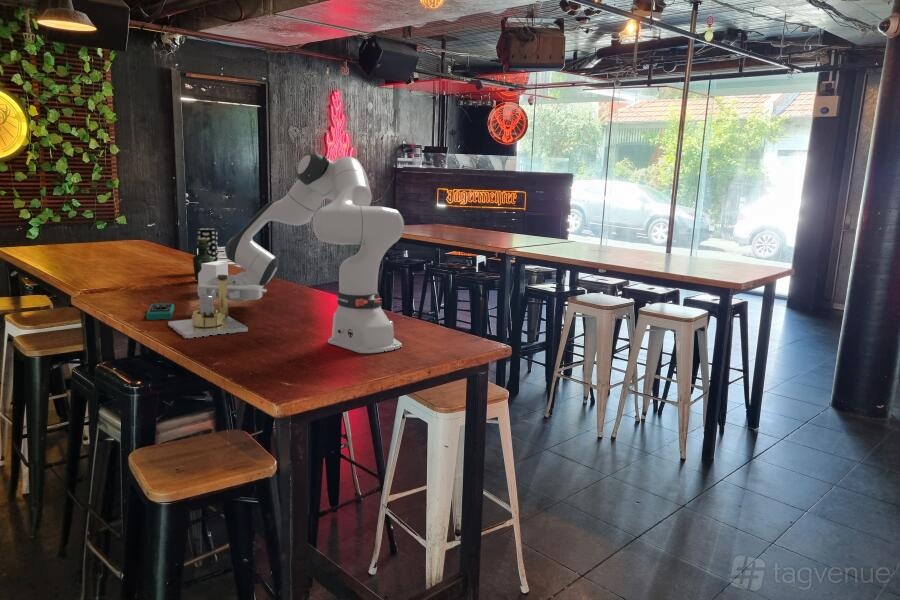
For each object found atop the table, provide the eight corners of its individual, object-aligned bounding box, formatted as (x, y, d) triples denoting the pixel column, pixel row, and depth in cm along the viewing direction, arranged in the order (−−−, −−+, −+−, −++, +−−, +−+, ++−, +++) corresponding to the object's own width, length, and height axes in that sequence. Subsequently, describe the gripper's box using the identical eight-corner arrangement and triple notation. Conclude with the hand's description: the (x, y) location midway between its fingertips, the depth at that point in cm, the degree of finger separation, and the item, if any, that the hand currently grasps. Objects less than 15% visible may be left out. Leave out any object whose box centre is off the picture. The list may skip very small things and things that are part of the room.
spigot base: (247, 331, 193) (247, 298, 191) (185, 338, 183) (184, 304, 181) (225, 318, 209) (224, 287, 207) (167, 324, 198) (165, 292, 196)
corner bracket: (216, 297, 241) (215, 265, 238) (192, 293, 244) (191, 262, 242) (235, 292, 250) (234, 261, 248) (211, 289, 254) (210, 259, 252)
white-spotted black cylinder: (206, 275, 284) (205, 230, 280) (194, 273, 288) (193, 228, 284) (222, 273, 291) (221, 229, 287) (210, 271, 295) (209, 227, 291)
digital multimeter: (174, 310, 218) (174, 302, 217) (171, 320, 204) (171, 311, 204) (150, 311, 215) (150, 302, 215) (146, 321, 202) (145, 312, 201)
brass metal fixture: (211, 327, 190) (210, 282, 187) (186, 325, 192) (184, 280, 189) (238, 317, 203) (237, 275, 200) (214, 315, 205) (213, 273, 202)
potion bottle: (189, 281, 269) (187, 238, 265) (206, 279, 275) (204, 237, 272) (201, 283, 264) (199, 240, 261) (218, 281, 271) (216, 239, 267)
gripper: (268, 298, 214) (253, 307, 201) (209, 295, 216) (190, 304, 202) (268, 280, 213) (253, 287, 200) (208, 277, 214) (189, 284, 201)
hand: (220, 296), depth 201 cm, fingers open, 3 cm apart
